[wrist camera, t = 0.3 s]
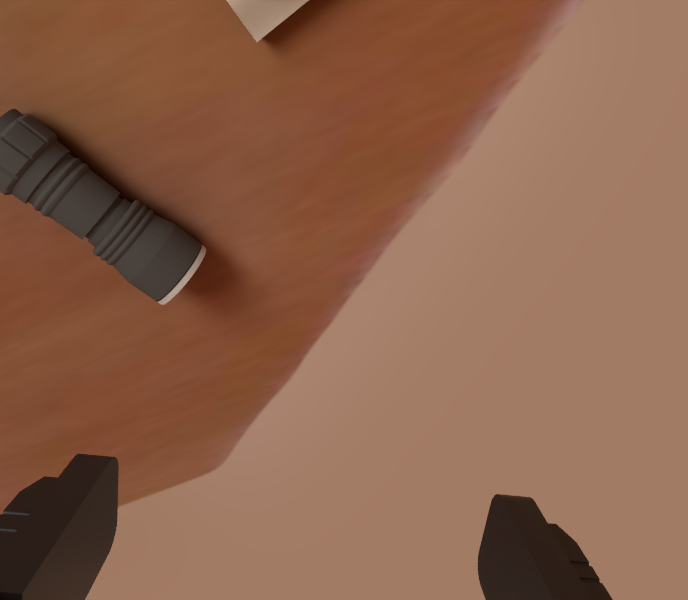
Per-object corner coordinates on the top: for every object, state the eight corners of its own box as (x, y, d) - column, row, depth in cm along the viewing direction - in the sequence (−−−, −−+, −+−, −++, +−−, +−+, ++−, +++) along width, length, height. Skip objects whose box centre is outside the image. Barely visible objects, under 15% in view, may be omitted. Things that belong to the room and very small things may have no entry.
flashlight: (-12, 146, 38) (-58, 178, 34) (25, 90, 36) (-18, 116, 31) (171, 277, 45) (153, 317, 40) (212, 236, 42) (198, 274, 38)
